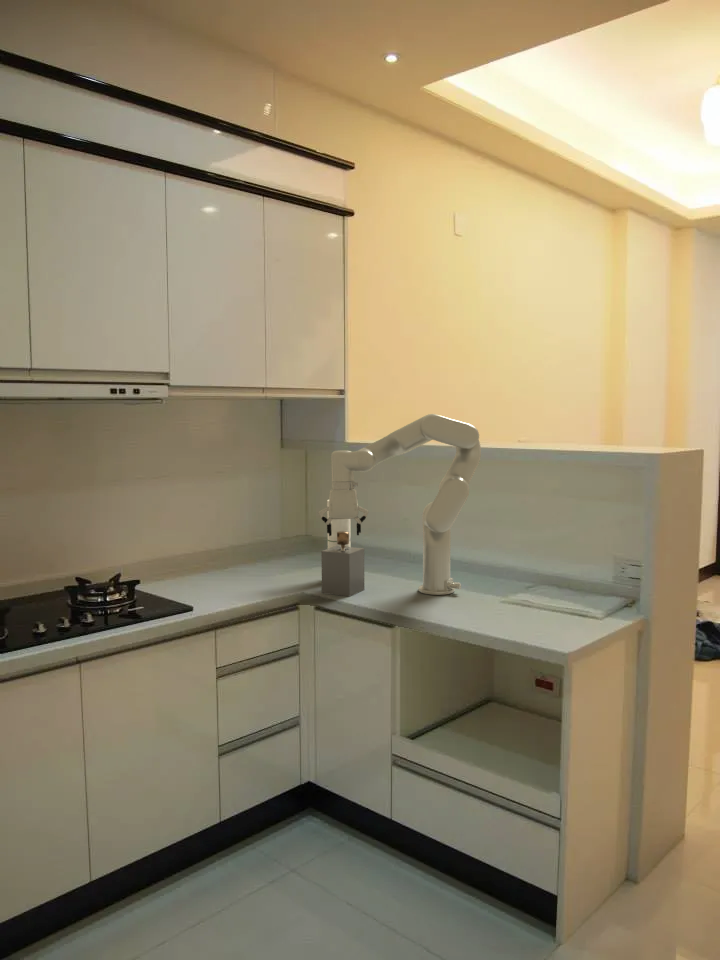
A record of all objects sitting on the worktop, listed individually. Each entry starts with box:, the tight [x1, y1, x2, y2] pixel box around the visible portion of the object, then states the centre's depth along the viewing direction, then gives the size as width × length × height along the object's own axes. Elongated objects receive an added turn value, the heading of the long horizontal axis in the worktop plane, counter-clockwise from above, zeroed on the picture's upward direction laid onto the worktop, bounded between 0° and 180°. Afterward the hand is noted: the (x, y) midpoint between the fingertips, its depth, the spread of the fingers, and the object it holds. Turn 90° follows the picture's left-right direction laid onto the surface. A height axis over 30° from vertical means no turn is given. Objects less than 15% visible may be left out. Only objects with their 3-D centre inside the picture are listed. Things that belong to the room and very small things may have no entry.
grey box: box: [320, 546, 365, 598], centre depth 266 cm, size 11×11×15 cm
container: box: [326, 499, 352, 549], centre depth 283 cm, size 9×9×30 cm
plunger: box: [337, 531, 349, 551], centre depth 266 cm, size 8×8×20 cm
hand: (344, 535), depth 265 cm, fingers open, 9 cm apart
